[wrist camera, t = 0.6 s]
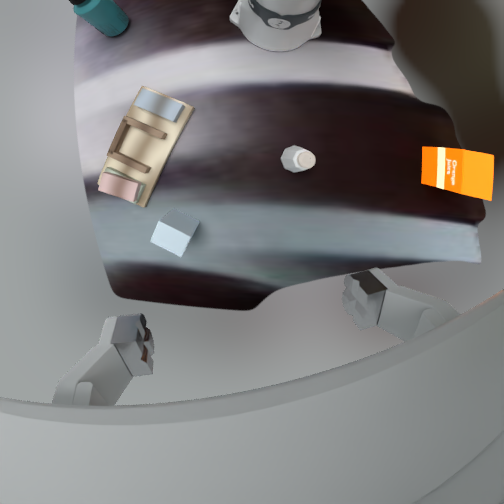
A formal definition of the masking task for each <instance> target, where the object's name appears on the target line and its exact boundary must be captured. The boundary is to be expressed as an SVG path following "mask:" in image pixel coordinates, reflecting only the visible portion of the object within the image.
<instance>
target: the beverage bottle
mask: <svg viewBox="0 0 504 504" xmlns="http://www.w3.org/2000/svg"><path fill="white" fill-rule="evenodd" d="M69 1H70V2H71V3H72V4H73V5H74V12H75V13H76V14H77V15H79V16H80V17H82V18H83V19H84V20H86V21H87V22H88V23H90V24H91V26H92V25H93V27H95V28H96V29H97V30H100V32H101V33H103V34H104V35H107V36H115V35H118V34H120V33H121V32H122V31H124V30H125V28H126V27H127V25H128V21H129V18H128V17H127V15H126V13H125V12H123V11H122V10H121V9H120V8H119V7H118V5H116V4H115V2H113V1H112V0H69Z"/></svg>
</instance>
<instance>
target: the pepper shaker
mask: <svg viewBox="0 0 504 504" xmlns="http://www.w3.org/2000/svg"><path fill="white" fill-rule="evenodd" d="M281 161H282V163H283V166H284V168H285V169H287V170H290V171H292V172H299V171H303V170H306V169H309V168H311V167H313V166H314V164H315V161H316V160H315V156H314V155H313V154H312V153H311V152H310V151H308V150H305V149H303V148H301V147H298V146H295V145H294V146H291V147H289V148H286V149H285V150H284V152H283V154H282V156H281Z"/></svg>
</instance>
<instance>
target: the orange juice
mask: <svg viewBox="0 0 504 504" xmlns="http://www.w3.org/2000/svg"><path fill="white" fill-rule="evenodd" d="M493 170H494V156H493V155H489V154H484V153H478V152H473V151H467V150H463V149H452V148H441V147H422V183H423V184H427V185H431V186H435V187H438V188H441V189H446V190H449V191H453V192H457V193H460V194H465V195H469V196H473V197H478V198H482V199H486V200H490V201H491V199H492V188H493Z"/></svg>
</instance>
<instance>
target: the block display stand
mask: <svg viewBox="0 0 504 504" xmlns="http://www.w3.org/2000/svg"><path fill="white" fill-rule="evenodd" d="M194 109H195V108H194V107H192V106H190V105H188V104H186V103H183V102H181V101H179V100H176V99H174V98H172V97H169V96H167V95H164V94H162V93H159V92H157V91H154V90H152V89H149V88H147V87H144V86H142V87H141V89H140V90H139V92H138V94H137V96H136V98H135V100H134V101H133V103H132V105H131V107H130V109H129V111H128V113H127V115H126V116H124V118H123V120H122V122H121V124H120V126H119V128H118V130H117V132H116V135H115V137H114V139H113V141H112V144H111V146H110V148H109V151H108V153H107V156H108V157H107V159H106V162H105V164H104V167H103V170H102V172H101V175H100V177H99V180H98V183H97V184H99V189H98V190H99V191H102V192H105V193H108V194H111V195H114V196H117V197H120V198H123V199H126V200H128V201H130V202H132V203H134V204H137V205H139V206H141V207H143V208H144V207H146V206H147V203H148V201H149V199H150V196H151V194H152V192H153V189H154V187H155V185H156V183H157V181H158V178H159V176H160V174H161V172H162V170H163V168H164V166H165V164H166V162H167V160H168V157H169V155H170V153H171V151H172V149H173V148H174V146H175V144H176V142H177V140H178V138H179V136H180V134H181V132H182V130H183V128H184V127H185V125H186V123H187V121H188V119H189V117H190V116H191V114H192V112H193V110H194Z"/></svg>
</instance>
